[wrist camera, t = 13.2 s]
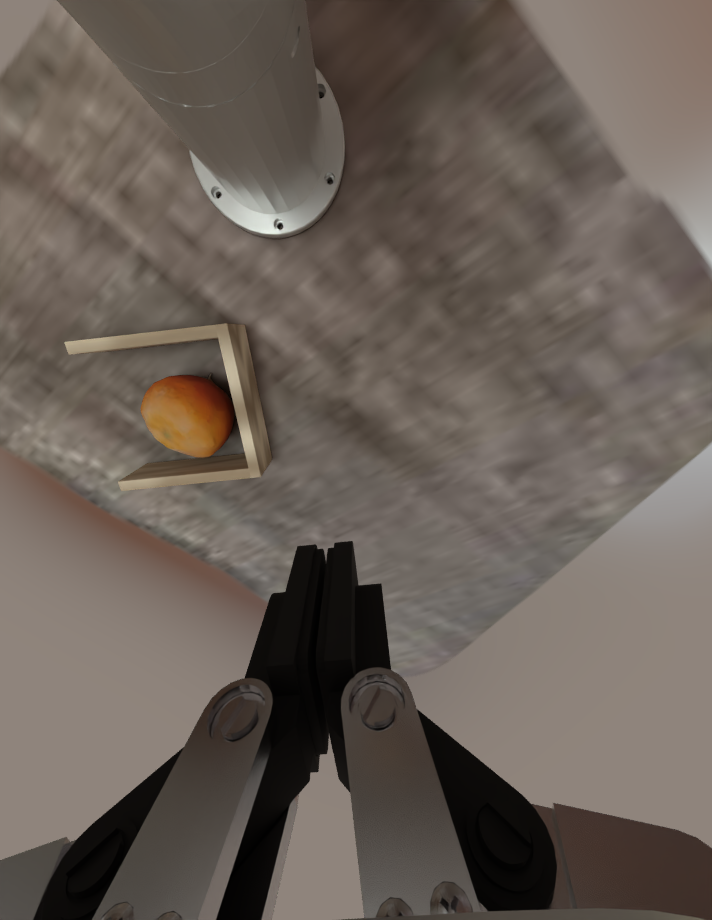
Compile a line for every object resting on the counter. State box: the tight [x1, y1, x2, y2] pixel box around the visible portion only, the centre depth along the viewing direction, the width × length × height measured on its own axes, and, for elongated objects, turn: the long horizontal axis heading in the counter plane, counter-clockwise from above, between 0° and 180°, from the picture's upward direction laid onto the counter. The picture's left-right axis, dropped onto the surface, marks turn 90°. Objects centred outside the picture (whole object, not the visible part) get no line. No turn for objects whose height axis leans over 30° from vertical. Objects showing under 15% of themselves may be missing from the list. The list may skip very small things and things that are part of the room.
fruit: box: [141, 373, 235, 457], centre depth 33 cm, size 8×8×8 cm
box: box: [64, 323, 272, 491], centre depth 33 cm, size 14×14×5 cm
